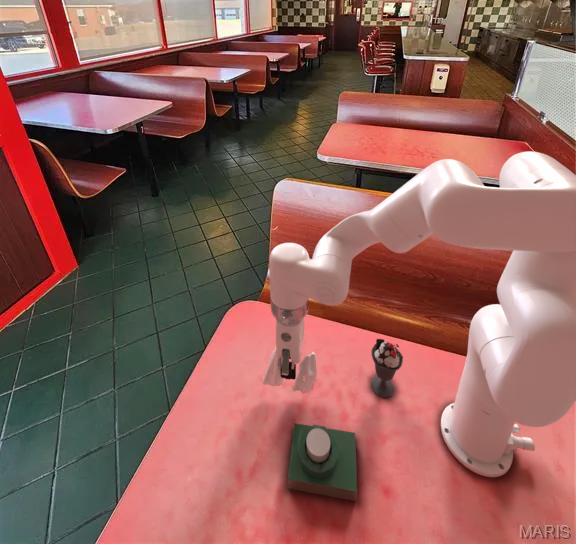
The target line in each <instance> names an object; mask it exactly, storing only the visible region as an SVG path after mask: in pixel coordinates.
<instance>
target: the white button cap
mask: <svg viewBox="0 0 576 544" xmlns="http://www.w3.org/2000/svg"><path fill="white" fill-rule="evenodd" d="M306 451H307V454H308V456H309V458H310V459H311V460H312V461H314V462H316V463H322V462H324V461H326V460H327V458H328V457H329V454H330V438H329V436H328V434H327V433H326V432H325V431H324V430H322V429H319V428H316V429H313V430H311V431H310V432H309V434H308V435H307V439H306Z"/></svg>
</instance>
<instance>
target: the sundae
mask: <svg viewBox="0 0 576 544" xmlns="http://www.w3.org/2000/svg"><path fill="white" fill-rule="evenodd" d="M375 341H376V342H375V344H373V347H372V348H371V351H370V352H371V358H372V361H373V363H374V369H375V373H376V376H375V377H374V378H373V379H372V380H371V388H372V391H373V393H375V394H376V395H377V396H379V397H380V398H384V399H387V398H390V397H392V396H393V394H394V391H395V389H394V388H395V387H394V384H393V382H392V380H393V378H394V377H395V375H396V372H397V371H398V370H400V369H401V368H402V365H403V363H404V360H403V359H404V356H403V354H402V353H401V351H400V350H399V349H398V348H400V346H399V344H398V343H396V344H393V343H392V342H388V341H385V339H383V338H376V340H375Z"/></svg>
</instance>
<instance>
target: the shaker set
mask: <svg viewBox="0 0 576 544" xmlns="http://www.w3.org/2000/svg"><path fill="white" fill-rule="evenodd" d="M280 364H281V360H279V361H278V359H277V357H276V348H275V349H274V350H273V351H272V352H271V354H270V356H269V360H268V366H267V367H266V370H265V372H264V375H263V376H262V380H261V382H262V385H265V386H272V387H279V386H282V385H283V383H284V380H285V378H281V371H280ZM317 373H318V372H317V356H316V353H315V352H314V351H313V352H311V353H310V354H307V355H305V357H303V359H301V361H300V362H299V365H298V369H297V372H296V379H294V382H293V383H292V385H291V389H292V391H293V392H297V391H300V392H301V394H309V393H310V392H311V391H313V389H314V384H315V383H317V379H318V378H317V377H318V375H317Z"/></svg>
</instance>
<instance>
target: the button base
mask: <svg viewBox="0 0 576 544" xmlns="http://www.w3.org/2000/svg"><path fill="white" fill-rule="evenodd" d="M316 428H319V429H322V430H324V431H325V432H326V433H327V434H328V436H329V438H330V454H329V457H328V458H327V460H326V461H324V462H322V463H316V462H314V461H312V460H311V459H310V458H309V456H308V454H307V451H306V439H307V435H308V434H309V432H310V431H311V430H313V429H316ZM291 440H292V441H291V449H290V458H289V467H288V475H287V489H288V490H294V491H300V492H305V493H311V494H315V495H321V496H326V497H331V498H336V499H337V498H338V499H341V500H342V499H343V500H348V501H353V502H356V501H357V495H358V480H357V451H356V449H357V448H356V433H355V432H352V431H346V430H340V429H335V428H328V427H326V426H324V425H319V424H312V425H308V424H303V423H297V422H296V423H295V422H294V424H293V433H292V439H291Z"/></svg>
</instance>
